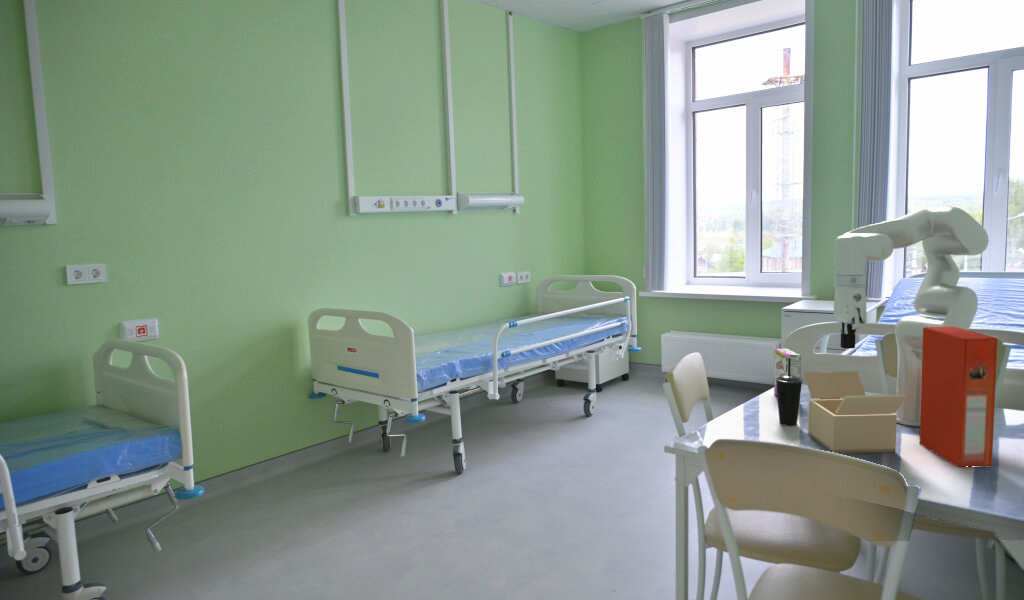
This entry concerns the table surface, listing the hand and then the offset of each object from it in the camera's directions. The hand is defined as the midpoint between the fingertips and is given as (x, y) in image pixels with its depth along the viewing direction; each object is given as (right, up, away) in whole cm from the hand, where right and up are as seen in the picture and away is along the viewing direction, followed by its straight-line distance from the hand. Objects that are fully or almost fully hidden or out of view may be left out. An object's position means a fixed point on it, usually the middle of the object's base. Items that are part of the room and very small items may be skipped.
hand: (847, 347), depth 183 cm
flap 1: (0, -11, +8) cm, 14 cm away
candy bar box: (+1, -21, +45) cm, 49 cm away
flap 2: (0, -13, -12) cm, 18 cm away
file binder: (+21, -27, -12) cm, 36 cm away
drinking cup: (-9, -24, +18) cm, 32 cm away
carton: (+1, -26, 0) cm, 26 cm away
